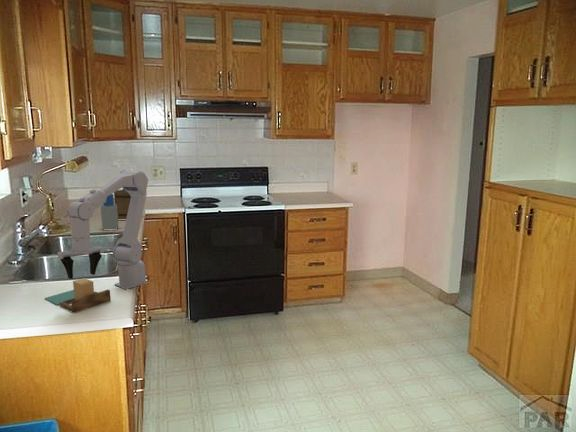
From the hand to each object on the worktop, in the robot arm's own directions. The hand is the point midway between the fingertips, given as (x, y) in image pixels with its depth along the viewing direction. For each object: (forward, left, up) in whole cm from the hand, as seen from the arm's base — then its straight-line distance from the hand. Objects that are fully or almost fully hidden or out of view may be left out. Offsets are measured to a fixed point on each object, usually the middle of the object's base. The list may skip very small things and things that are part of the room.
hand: (81, 276), depth 155 cm
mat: (0, -10, -10) cm, 14 cm away
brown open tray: (0, 0, -10) cm, 10 cm away
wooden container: (-91, -116, -10) cm, 148 cm away
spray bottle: (-67, -96, -10) cm, 117 cm away
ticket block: (0, 0, -10) cm, 10 cm away
